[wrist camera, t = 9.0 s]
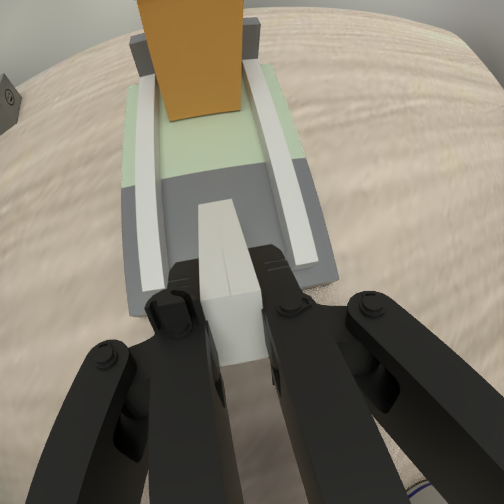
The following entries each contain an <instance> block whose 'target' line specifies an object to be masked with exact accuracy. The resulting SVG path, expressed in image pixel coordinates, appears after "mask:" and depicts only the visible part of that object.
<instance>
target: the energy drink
mask: <svg viewBox="0 0 504 504" xmlns="http://www.w3.org/2000/svg"><path fill="white" fill-rule="evenodd" d="M406 493H407V495H408V497H409V500H410V502H411V504H448V503H447V502H446V500H445V499H444V498H443V497H442V496H441V495H440V494H439V492H438V491H437V490H436V489H435V488H434V487H433V486H432V484H431V483H430V482H429V481H425V482H422V483H420V484H418V485H416V486H414V487H412V488H411V489H409V490H408V491H407V492H406Z"/></svg>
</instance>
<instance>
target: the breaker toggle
mask: <svg viewBox="0 0 504 504" xmlns="http://www.w3.org/2000/svg"><path fill="white" fill-rule="evenodd" d="M134 1H136V0H134ZM243 2H244V1H243V0H137V4H138V8H139V12H140V16H141V20H142V25H143V28H144V32H145V36H146V40H147V44H148V48H149V52H150V55H151V59H152V63H153V66H154V70H155V73H156V77H157V81H158V84H159V88H160V91H161V95H162V98H163V102H164V105H165V108H166V112H167V115H168V118H169V121H174V120H179V119H184V118H190V117H195V116H201V115H207V114H214V113H221V112H228V111H236V110H241V68H242V33H243Z"/></svg>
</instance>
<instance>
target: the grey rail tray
mask: <svg viewBox="0 0 504 504" xmlns="http://www.w3.org/2000/svg"><path fill="white" fill-rule="evenodd" d="M260 26H261V24H260V22H259V20H258V18H257V17H253V18H243V33H242V68H241V110H236V111H228V112H221V113H214V114H207V115H201V116H195V117H190V118H184V119H179V120H174V121H169V118H168V115H167V112H166V108H165V105H164V102H163V98H162V95H161V91H160V88H159V84H158V81H157V77H156V73H155V70H154V66H153V63H152V59H151V55H150V52H149V48H148V44H147V40H146V36H145V33H143V34H139V35H135V36H131V39H130V43H129V45H130V49H131V52H132V55H133V58H134V61H135V64H136V67H137V70H138V73H139V76H140V81H139V84H135V85H132V86H128V92H127V100H126V110H125V120H124V132H123V148H122V175H121V213H122V240H123V257H124V270H125V281H126V290H127V299H128V307H129V315H130V316H132V317H148V316H147V314H146V312H145V310H144V307H145V305H146V303H147V301H148V300H149V299H150V298H151V297H152V296H153V295H154V294H156V293H158V292H160V291H161V290H164V289H167V284H168V275H169V271H170V269H171V268H172V267H173V265H174V264H175V262H181V261H186V260H191V259H197V258H199V239H198V205H199V204H205V203H210V202H216V201H221V200H227V199H232V201H233V204H234V208H235V211H236V214H237V217H238V220H239V223H240V226H241V230H242V233H243V236H244V239H245V242H246V245H247V248H252V247H257V246H263V245H268V244H273V245H274V246H276V247H277V248H279V249H280V250H281V251H282V253H283V255H284V256H285V259H286V260H287V262H288V264H289V267H290V268H291V270H292V272H293V274H294V276H295V278H296V280H297V282H298V284H299V286H300V288H301V290H305V289H310V288H315V287H319V286H324V285H329V284H331V283H333V282H335V281H337V280H339V276H338V271H337V267H336V263H335V259H334V255H333V251H332V247H331V243H330V239H329V235H328V231H327V228H326V224H325V220H324V217H323V213H322V209H321V206H320V202H319V199H318V196H317V192H316V189H315V185H314V182H313V179H312V176H311V172H310V169H309V166H308V163H307V160H306V157H305V154H304V151H303V148H302V145H301V142H300V139H299V136H298V133H297V130H296V127H295V124H294V121H293V119H292V116H291V113H290V110H289V108H288V105H287V102H286V100H285V97H284V94H283V92H282V89H281V86H280V84H279V81H278V79H277V76H276V74H275V71H274V69H273V66H272V64H260V63H259V61H258V50H259V38H260Z"/></svg>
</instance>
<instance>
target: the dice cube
mask: <svg viewBox="0 0 504 504" xmlns="http://www.w3.org/2000/svg"><path fill="white" fill-rule="evenodd" d="M21 99H22V97H21V95H20V94H19V93H18V91H17V90H16V89H15V87H14V86H13V85H12V83H11V82H10V81H9V79H8V78H7V76H6V75H5V74H4V73H3V74H2V75H1V76H0V135H2V134H3V133H4V132H6V131H7V130H8V129H10V128H11V127H12V126H14V125H15V124H16V123H17V121H18V115H19V110H20V104H21Z"/></svg>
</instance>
